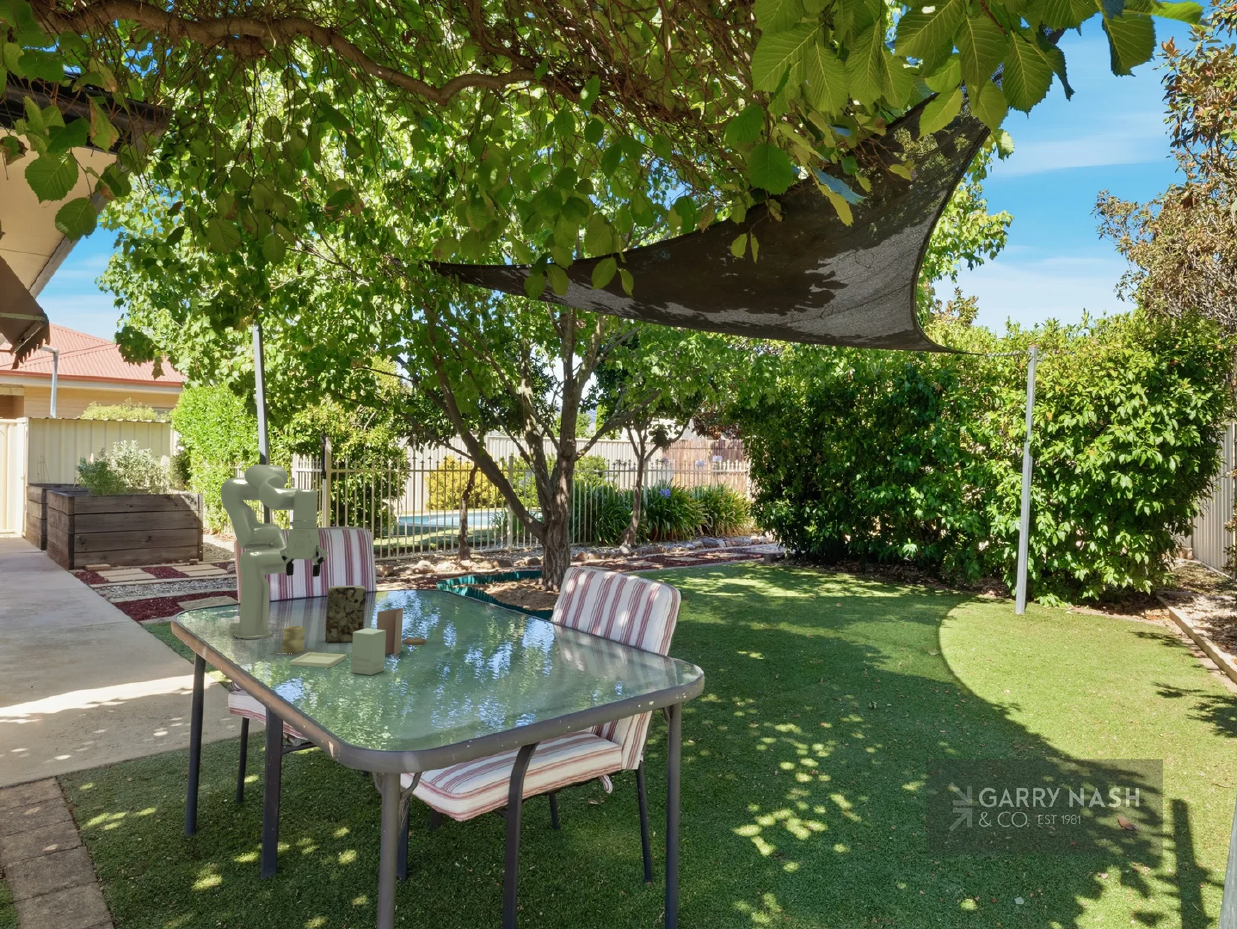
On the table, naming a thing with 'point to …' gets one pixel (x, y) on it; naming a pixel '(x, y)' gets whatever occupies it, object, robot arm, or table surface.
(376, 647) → the supplement box
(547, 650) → the table surface
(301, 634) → the beech block
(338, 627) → the stone block
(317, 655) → the cream tray
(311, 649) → the tile
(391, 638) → the greeting card
